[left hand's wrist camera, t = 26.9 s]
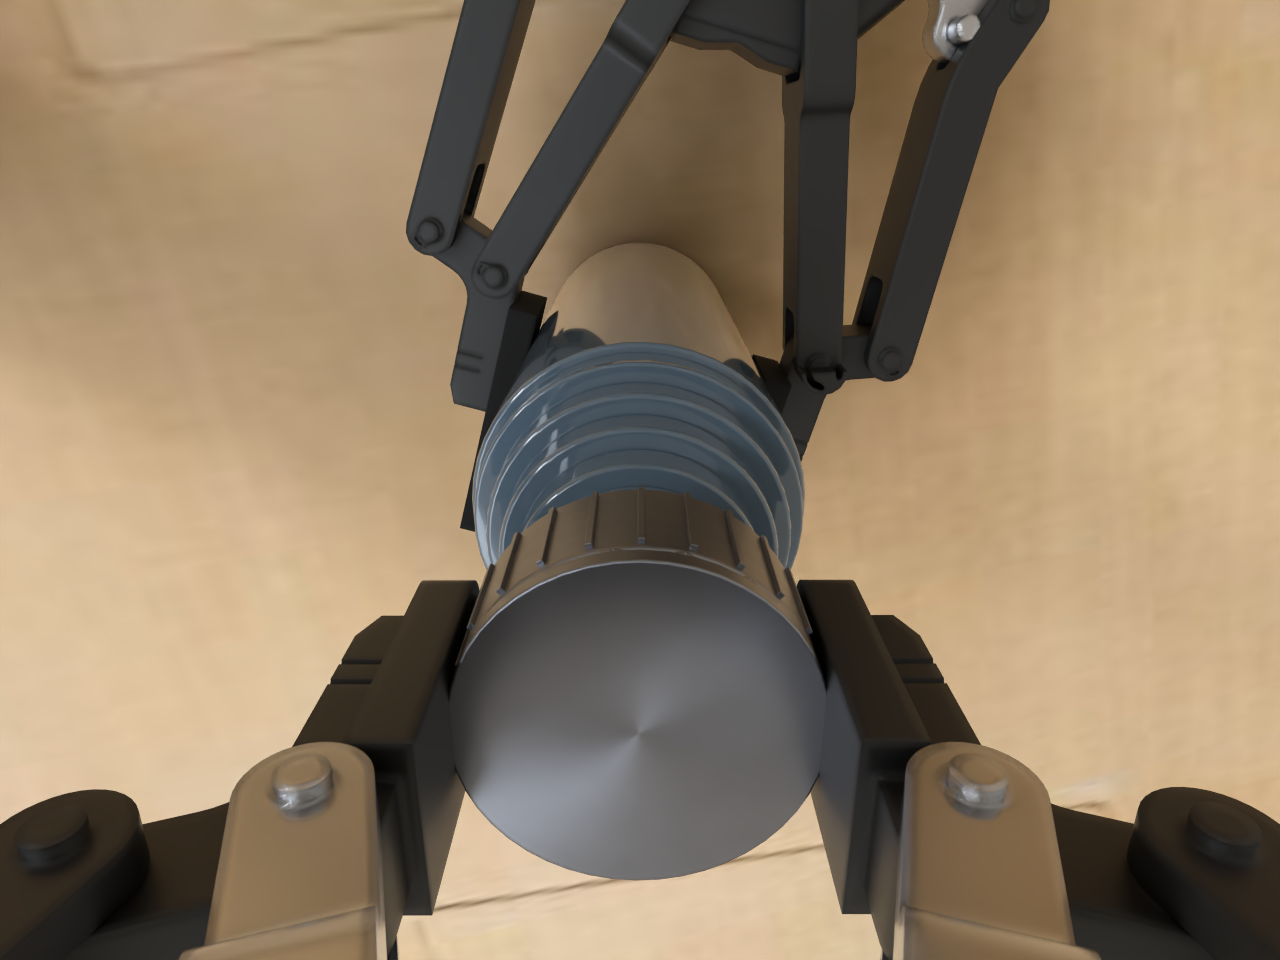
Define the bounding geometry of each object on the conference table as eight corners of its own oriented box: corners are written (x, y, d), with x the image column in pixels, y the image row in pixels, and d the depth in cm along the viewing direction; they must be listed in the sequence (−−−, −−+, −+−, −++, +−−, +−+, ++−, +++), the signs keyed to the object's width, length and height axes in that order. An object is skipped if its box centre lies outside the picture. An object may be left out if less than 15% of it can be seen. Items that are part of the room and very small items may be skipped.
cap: (836, 508, 12) (878, 586, 10) (768, 787, 13) (790, 903, 11) (488, 460, 11) (455, 530, 9) (461, 751, 13) (429, 862, 11)
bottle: (551, 237, 30) (367, 449, 10) (734, 246, 30) (934, 475, 10) (549, 413, 32) (396, 885, 12) (719, 420, 32) (855, 902, 12)
